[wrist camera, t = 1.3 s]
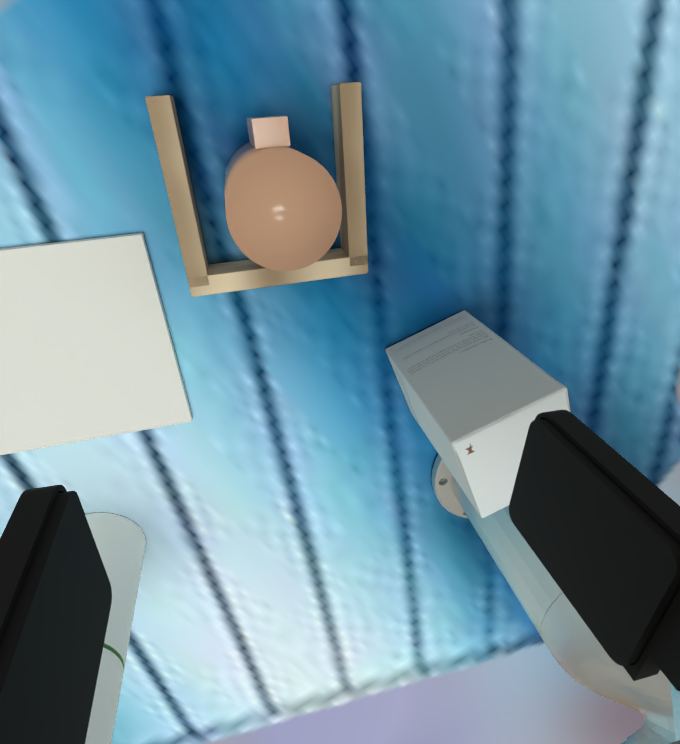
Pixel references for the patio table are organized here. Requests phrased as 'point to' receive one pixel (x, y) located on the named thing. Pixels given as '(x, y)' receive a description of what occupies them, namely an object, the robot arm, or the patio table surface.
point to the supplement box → (474, 402)
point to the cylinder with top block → (279, 199)
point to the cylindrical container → (115, 613)
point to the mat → (84, 344)
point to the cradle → (246, 271)
